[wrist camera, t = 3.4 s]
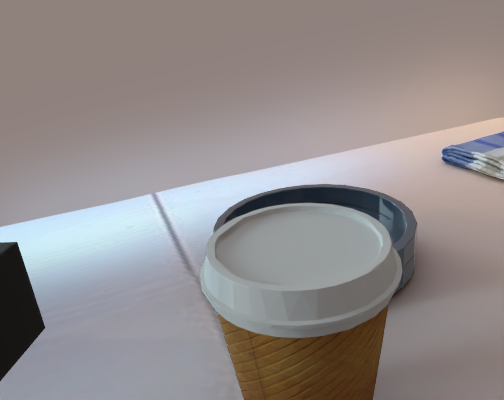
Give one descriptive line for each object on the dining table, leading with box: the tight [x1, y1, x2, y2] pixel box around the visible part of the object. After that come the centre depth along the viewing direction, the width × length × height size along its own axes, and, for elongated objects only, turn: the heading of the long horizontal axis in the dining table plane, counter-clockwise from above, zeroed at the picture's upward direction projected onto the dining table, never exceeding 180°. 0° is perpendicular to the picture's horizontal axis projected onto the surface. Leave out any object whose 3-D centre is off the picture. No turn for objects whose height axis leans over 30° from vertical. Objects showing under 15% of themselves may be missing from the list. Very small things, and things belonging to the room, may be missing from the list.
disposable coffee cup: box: [199, 203, 402, 400], centre depth 24 cm, size 10×10×12 cm
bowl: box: [213, 184, 417, 293], centre depth 42 cm, size 18×18×4 cm
